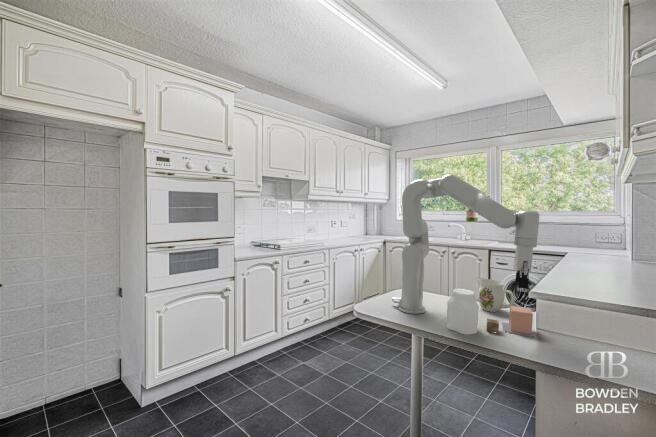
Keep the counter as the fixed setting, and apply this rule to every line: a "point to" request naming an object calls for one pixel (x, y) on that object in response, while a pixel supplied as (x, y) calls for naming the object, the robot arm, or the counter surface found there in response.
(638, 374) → the counter surface
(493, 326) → the block
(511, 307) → the salmon pink block
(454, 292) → the jar
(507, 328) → the mat
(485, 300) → the pitcher
